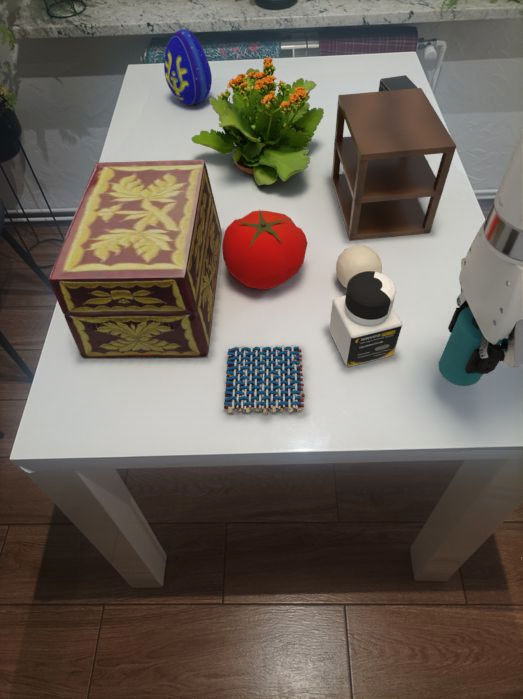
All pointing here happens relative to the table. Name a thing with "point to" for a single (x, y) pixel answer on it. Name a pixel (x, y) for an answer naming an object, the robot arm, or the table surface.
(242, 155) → the potted flower
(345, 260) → the cream round ball
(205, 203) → the decorative box
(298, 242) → the tomato
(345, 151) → the rack
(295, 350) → the woven mat
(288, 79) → the table surface
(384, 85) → the box
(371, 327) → the medicine bottle
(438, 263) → the table surface
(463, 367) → the teal cylinder
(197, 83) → the ornament
